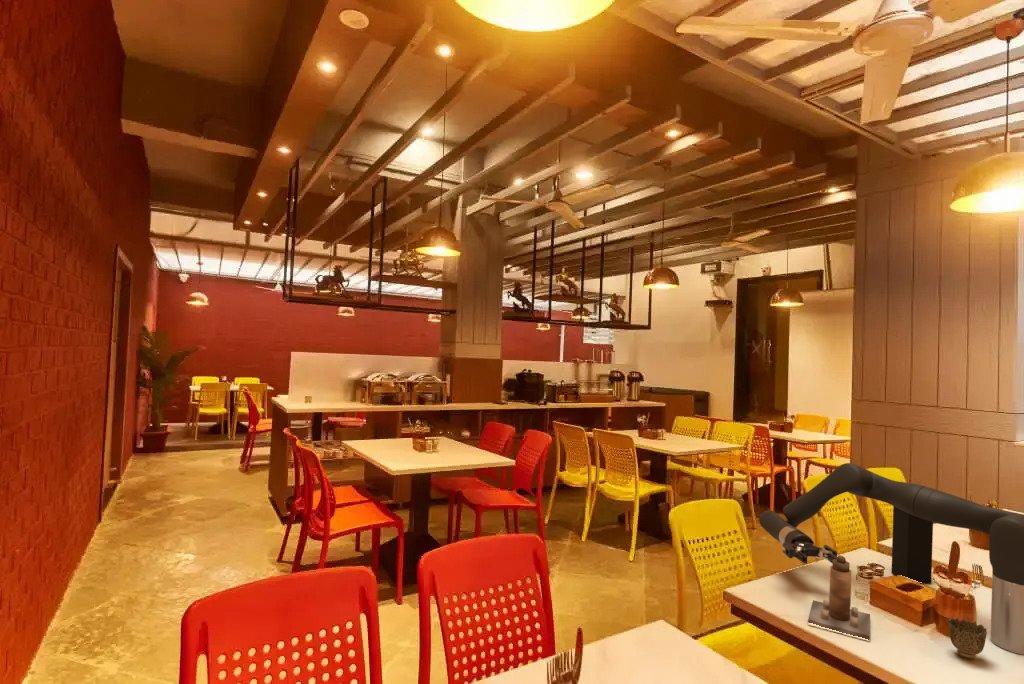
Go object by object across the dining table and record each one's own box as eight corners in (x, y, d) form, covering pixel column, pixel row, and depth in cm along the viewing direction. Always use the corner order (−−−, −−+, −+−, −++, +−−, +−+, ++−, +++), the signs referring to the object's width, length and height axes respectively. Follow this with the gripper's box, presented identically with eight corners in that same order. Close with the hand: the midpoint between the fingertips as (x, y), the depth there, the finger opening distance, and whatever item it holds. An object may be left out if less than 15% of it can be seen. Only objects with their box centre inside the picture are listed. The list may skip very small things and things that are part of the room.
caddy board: (869, 619, 155) (870, 606, 155) (869, 641, 143) (869, 628, 143) (812, 605, 162) (813, 593, 162) (807, 625, 151) (808, 612, 151)
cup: (947, 645, 142) (948, 614, 142) (985, 656, 138) (986, 623, 138) (946, 657, 136) (947, 625, 136) (986, 669, 132) (987, 635, 132)
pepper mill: (850, 615, 153) (852, 555, 153) (849, 623, 149) (851, 560, 149) (829, 610, 156) (831, 550, 156) (828, 617, 152) (830, 556, 152)
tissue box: (931, 584, 179) (934, 497, 179) (906, 583, 179) (909, 496, 179) (914, 574, 187) (917, 490, 187) (890, 573, 187) (893, 490, 187)
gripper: (773, 528, 180) (796, 547, 164) (818, 530, 179) (846, 549, 163) (773, 552, 180) (795, 572, 164) (818, 554, 179) (845, 574, 163)
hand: (821, 561), depth 163 cm, fingers open, 8 cm apart
